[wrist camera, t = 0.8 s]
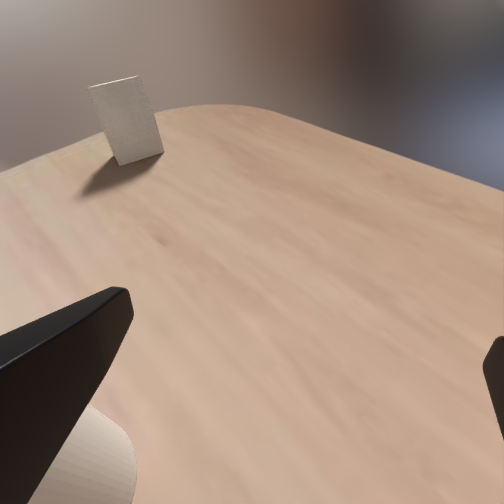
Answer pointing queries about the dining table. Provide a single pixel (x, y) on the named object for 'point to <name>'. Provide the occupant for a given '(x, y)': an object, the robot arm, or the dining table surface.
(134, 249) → the dining table surface
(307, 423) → the dining table surface
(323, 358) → the dining table surface
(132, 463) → the white cylinder
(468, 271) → the dining table surface
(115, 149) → the light grey box
